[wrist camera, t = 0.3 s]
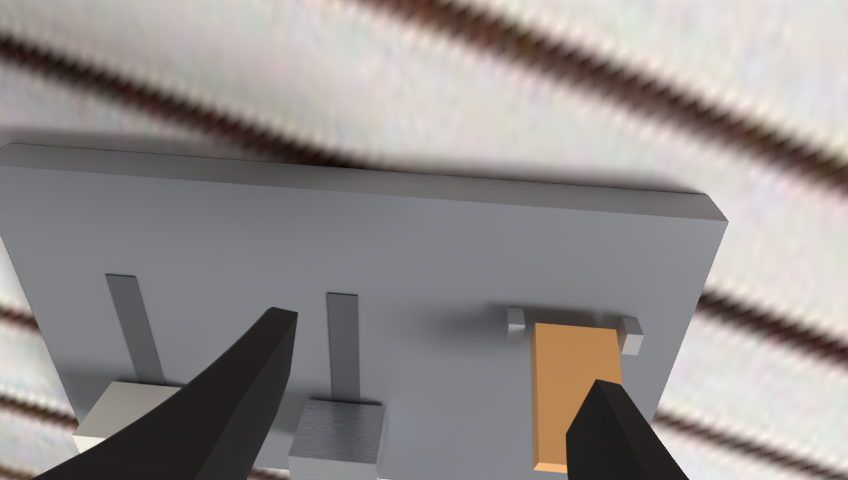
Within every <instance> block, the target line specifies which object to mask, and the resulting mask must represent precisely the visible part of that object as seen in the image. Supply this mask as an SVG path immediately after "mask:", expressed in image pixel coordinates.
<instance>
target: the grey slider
mask: <svg viewBox="0 0 848 480" xmlns="http://www.w3.org/2000/svg"><path fill="white" fill-rule="evenodd" d="M385 449H386V407H385V406H375V405H364V404H353V403H342V402H331V401H320V400H309V399H307V400H306V403H305V406H304V409H303V412H302V415H301V418H300V421H299V424H298V427H297V430H296V433H295V436H294V439H293V442H292V445H291V448H290V451H289V454H288V461H289V469H290V477H291V480H381V475H382V469H383V462H384V456H385Z"/></svg>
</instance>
